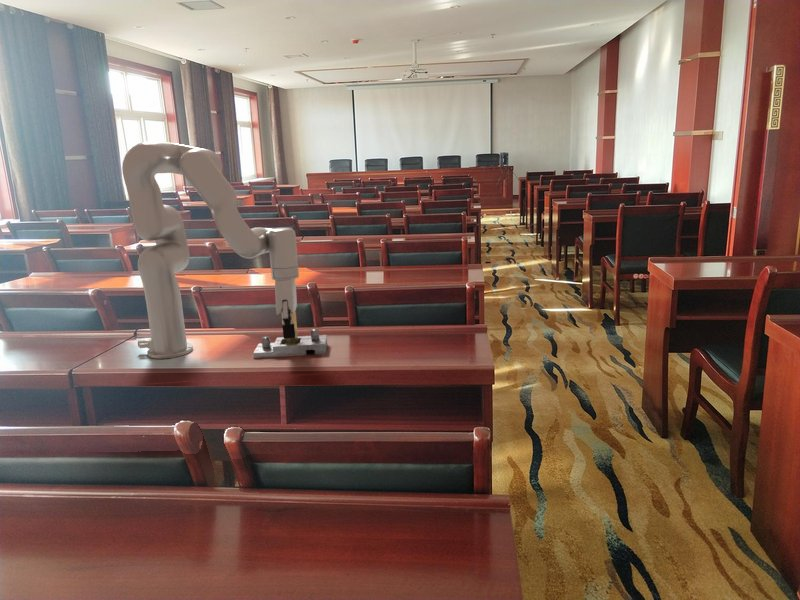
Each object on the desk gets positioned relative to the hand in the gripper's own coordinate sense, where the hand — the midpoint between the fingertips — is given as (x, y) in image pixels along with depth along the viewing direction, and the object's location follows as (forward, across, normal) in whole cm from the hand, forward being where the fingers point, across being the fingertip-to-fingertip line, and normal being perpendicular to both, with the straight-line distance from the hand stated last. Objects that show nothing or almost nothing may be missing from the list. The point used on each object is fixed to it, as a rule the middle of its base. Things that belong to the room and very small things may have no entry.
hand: (290, 334), depth 172 cm
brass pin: (+3, 0, 0) cm, 3 cm away
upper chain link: (+5, 0, +3) cm, 6 cm away
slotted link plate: (+5, 0, -3) cm, 6 cm away
